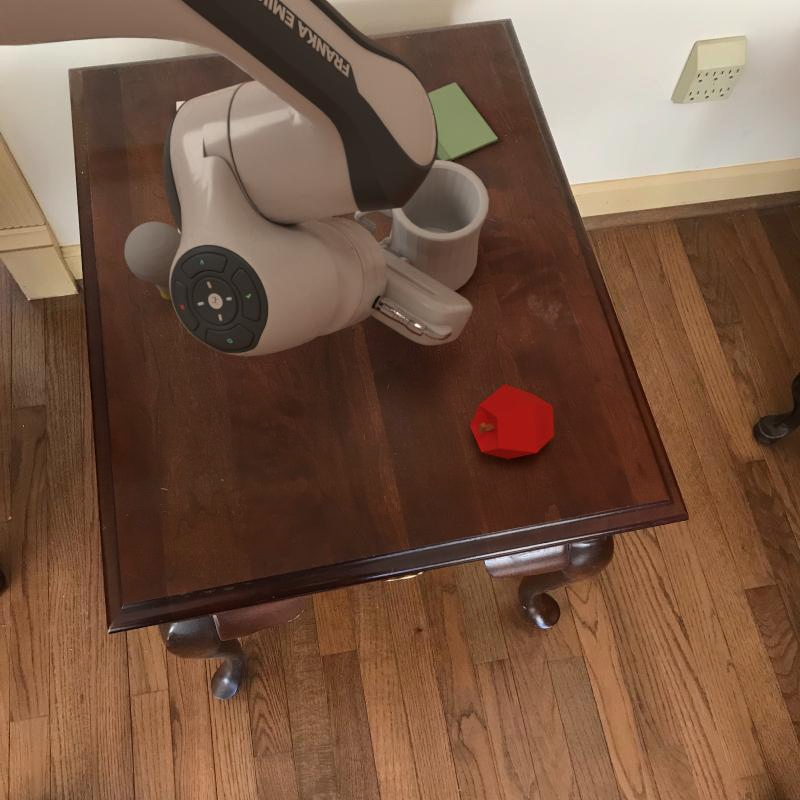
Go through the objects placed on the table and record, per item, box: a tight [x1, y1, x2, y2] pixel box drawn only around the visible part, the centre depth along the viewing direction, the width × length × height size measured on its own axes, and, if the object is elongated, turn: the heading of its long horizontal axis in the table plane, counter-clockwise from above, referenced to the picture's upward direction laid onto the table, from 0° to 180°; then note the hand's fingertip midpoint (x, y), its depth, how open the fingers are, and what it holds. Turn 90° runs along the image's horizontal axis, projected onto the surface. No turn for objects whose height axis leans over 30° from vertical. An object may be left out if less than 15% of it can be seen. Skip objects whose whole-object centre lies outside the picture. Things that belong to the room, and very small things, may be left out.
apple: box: [469, 383, 555, 460], centre depth 74 cm, size 7×7×8 cm
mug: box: [353, 159, 490, 292], centre depth 79 cm, size 12×9×10 cm
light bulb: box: [123, 221, 181, 302], centre depth 76 cm, size 6×6×10 cm
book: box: [427, 82, 499, 162], centre depth 91 cm, size 7×9×1 cm
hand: (393, 259), depth 78 cm, fingers closed, pressing on mug
